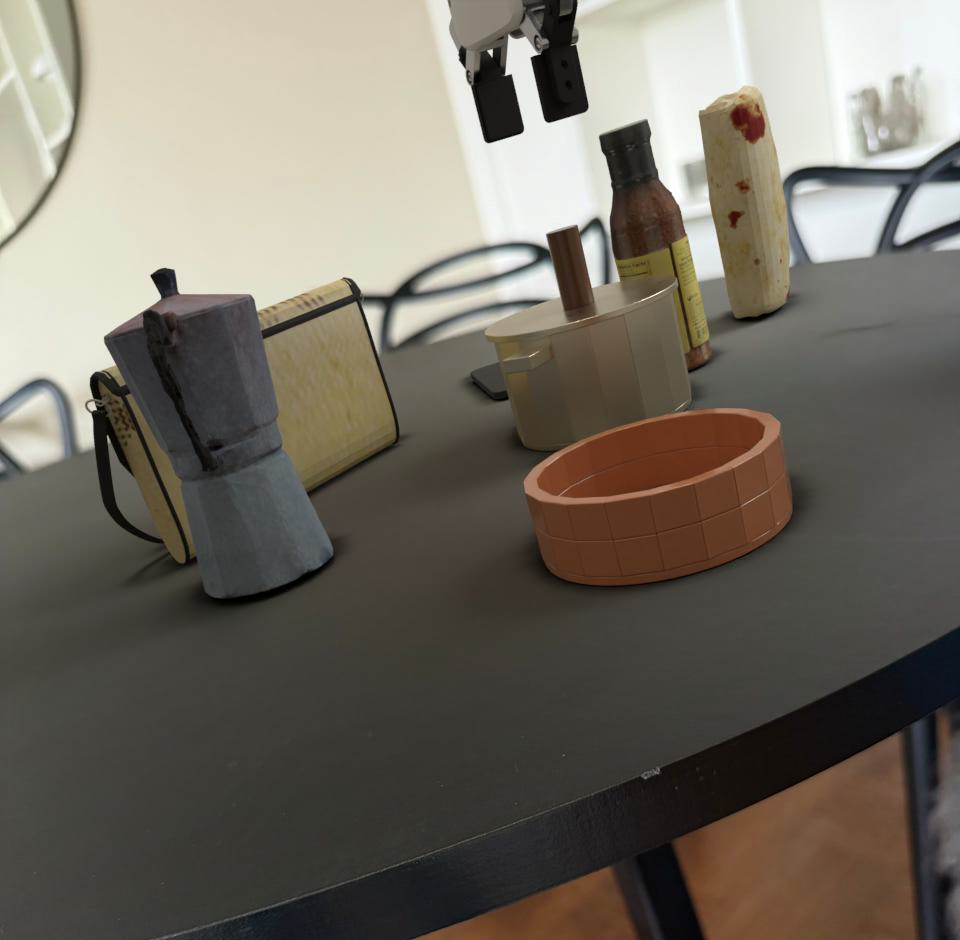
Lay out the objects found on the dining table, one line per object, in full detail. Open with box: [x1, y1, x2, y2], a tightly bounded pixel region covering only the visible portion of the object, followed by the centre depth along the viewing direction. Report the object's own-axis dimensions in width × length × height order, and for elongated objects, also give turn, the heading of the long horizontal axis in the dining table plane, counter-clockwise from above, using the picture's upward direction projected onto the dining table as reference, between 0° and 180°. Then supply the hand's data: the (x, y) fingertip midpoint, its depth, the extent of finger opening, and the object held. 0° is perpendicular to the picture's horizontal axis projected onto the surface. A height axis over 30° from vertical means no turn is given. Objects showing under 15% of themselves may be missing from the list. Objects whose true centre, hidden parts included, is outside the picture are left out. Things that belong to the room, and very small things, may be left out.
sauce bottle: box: [598, 118, 713, 372], centre depth 86 cm, size 6×6×20 cm
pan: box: [523, 407, 794, 587], centre depth 55 cm, size 14×14×4 cm
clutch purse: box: [84, 276, 401, 566], centre depth 83 cm, size 30×7×15 cm, turn 144°
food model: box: [698, 85, 791, 319], centre depth 97 cm, size 10×7×20 cm
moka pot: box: [103, 267, 334, 600], centre depth 64 cm, size 10×15×20 cm, turn 10°
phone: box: [469, 361, 509, 400], centre depth 104 cm, size 7×1×15 cm
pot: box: [493, 292, 693, 452], centre depth 79 cm, size 14×19×8 cm
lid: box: [484, 224, 678, 343], centre depth 76 cm, size 15×15×7 cm
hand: (534, 128), depth 72 cm, fingers open, 9 cm apart
